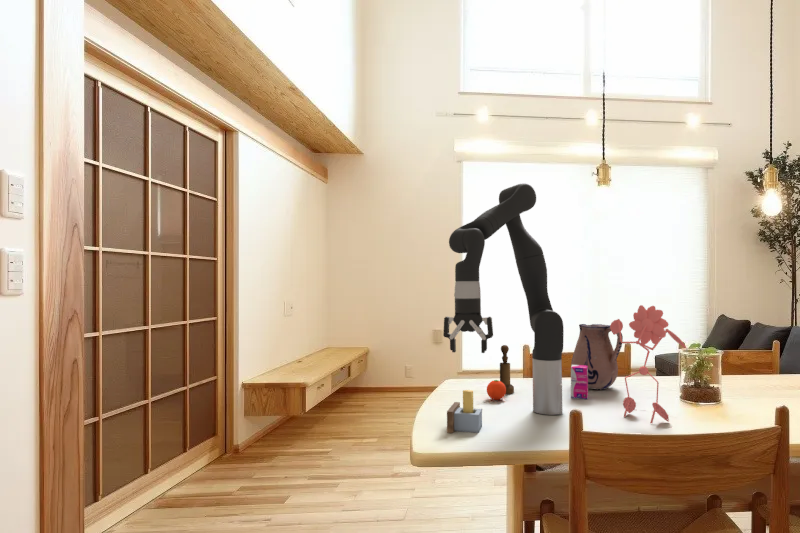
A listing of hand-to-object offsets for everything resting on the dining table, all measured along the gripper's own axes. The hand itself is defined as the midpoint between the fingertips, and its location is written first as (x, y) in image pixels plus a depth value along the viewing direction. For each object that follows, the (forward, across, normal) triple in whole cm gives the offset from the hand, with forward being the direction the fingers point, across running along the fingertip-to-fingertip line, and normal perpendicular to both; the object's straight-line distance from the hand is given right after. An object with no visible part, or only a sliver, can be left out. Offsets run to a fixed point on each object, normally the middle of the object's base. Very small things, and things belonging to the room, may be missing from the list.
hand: (468, 352), depth 154 cm
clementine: (+22, -4, -40) cm, 46 cm away
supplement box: (+22, -33, -50) cm, 64 cm away
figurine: (+23, -53, -26) cm, 63 cm away
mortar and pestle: (+22, -6, -53) cm, 58 cm away
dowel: (+21, 0, 0) cm, 21 cm away
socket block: (+22, 0, 0) cm, 22 cm away
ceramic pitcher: (+23, -41, -70) cm, 84 cm away
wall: (+22, +5, 0) cm, 22 cm away
